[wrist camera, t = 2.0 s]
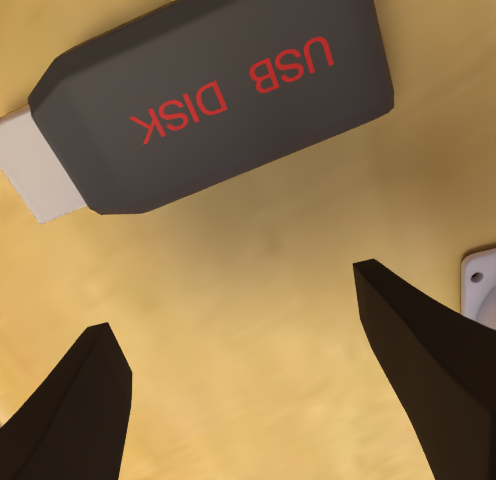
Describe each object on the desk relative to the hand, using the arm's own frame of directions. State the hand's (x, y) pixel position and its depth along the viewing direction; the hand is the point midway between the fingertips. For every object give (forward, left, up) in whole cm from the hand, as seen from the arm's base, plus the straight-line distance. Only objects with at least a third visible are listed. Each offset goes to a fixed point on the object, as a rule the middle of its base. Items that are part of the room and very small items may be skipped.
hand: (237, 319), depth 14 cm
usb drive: (+5, 0, -6) cm, 8 cm away
